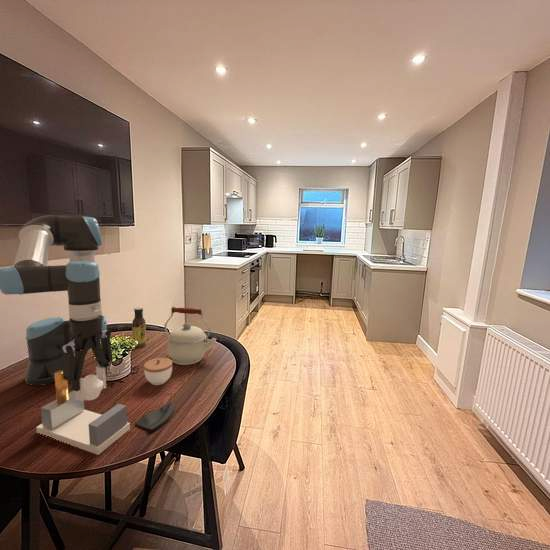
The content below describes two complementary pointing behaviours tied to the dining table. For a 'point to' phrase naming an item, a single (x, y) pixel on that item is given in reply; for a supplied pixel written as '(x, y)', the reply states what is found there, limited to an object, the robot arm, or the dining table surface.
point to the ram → (61, 404)
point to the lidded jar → (158, 370)
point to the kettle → (187, 340)
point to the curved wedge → (156, 418)
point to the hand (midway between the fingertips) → (91, 393)
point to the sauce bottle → (139, 327)
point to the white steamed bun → (92, 386)
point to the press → (91, 429)
